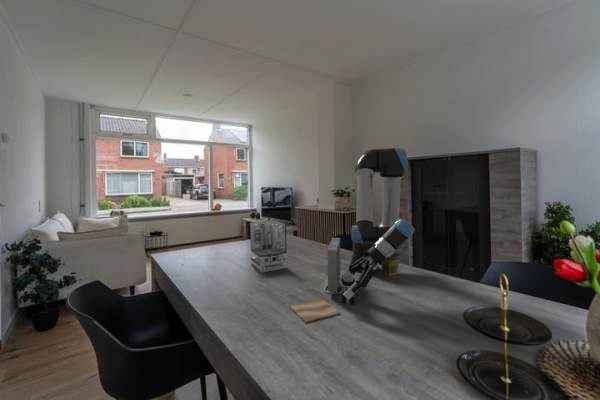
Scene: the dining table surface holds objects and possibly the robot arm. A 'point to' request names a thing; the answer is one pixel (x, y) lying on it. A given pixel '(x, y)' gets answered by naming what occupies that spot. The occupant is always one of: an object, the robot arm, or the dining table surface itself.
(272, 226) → the analytical balance
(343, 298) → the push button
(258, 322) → the dining table surface
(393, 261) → the ceramic cup
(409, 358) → the dining table surface
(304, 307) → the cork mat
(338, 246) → the network device
